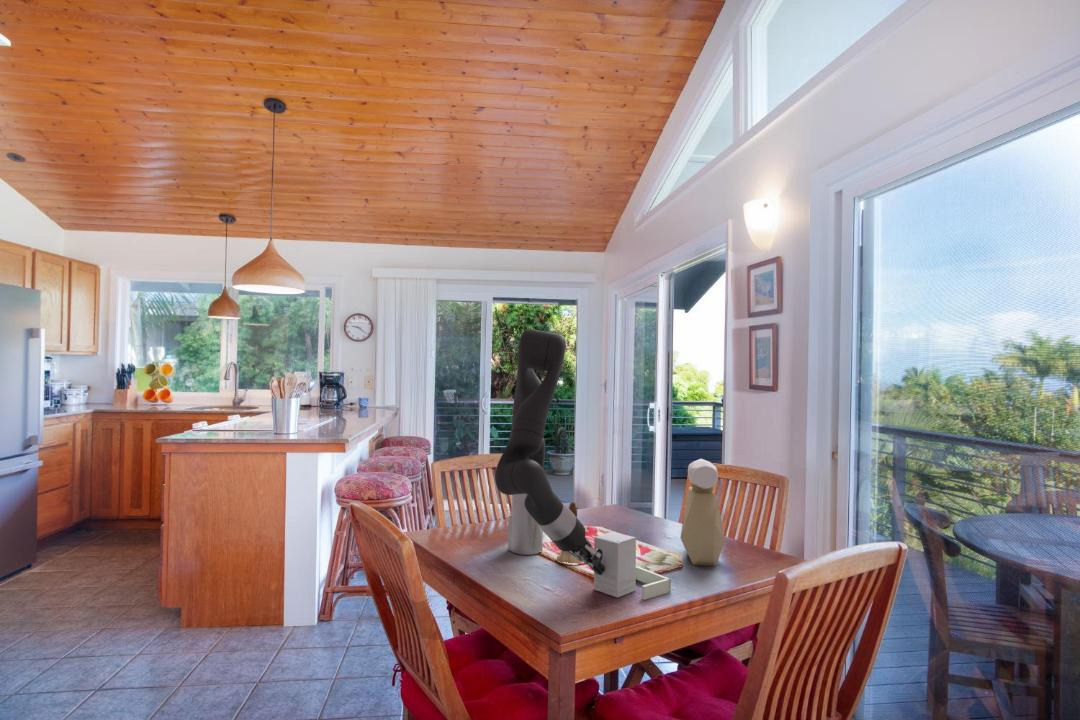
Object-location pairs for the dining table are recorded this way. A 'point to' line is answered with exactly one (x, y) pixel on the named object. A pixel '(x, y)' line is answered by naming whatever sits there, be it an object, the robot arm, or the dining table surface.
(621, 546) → the supplement box
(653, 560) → the dining table surface
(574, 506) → the hand bell
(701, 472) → the perfume bottle
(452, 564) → the dining table surface
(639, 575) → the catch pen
